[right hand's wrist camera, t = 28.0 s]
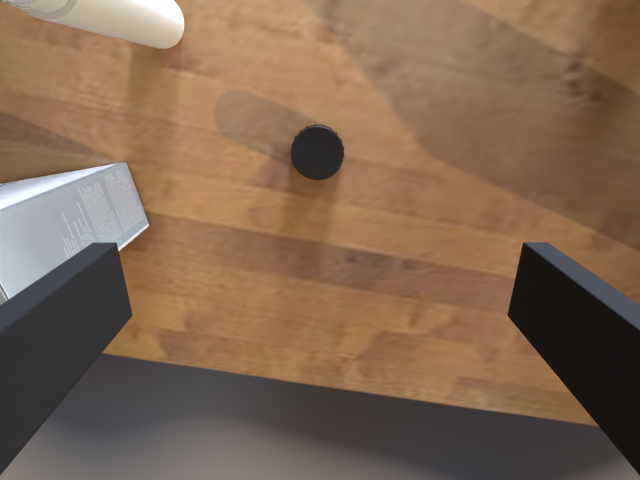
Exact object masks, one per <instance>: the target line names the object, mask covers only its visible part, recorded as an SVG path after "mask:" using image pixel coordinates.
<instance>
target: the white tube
mask: <svg viewBox="0 0 640 480" xmlns="http://www.w3.org/2000/svg"><path fill="white" fill-rule="evenodd" d="M0 1H2V2H4V3H6V4H8V5H10V6H13V7H17V8H20V9H21V10H23V11H24V12H26V13H27V14H29V15H31V16H33V17H35V18H39V19H42V20H46V21H50V22H54V23H58V24H62V25H66V26H70V27H74V28H78V29H82V30H86V31H90V32H94V33H98V34H102V35H106V36H110V37H114V38H118V39H122V40H126V41H130V42H134V43H138V44H142V45H146V46H150V47H154V48H159V49H168V48H171V47H173V46H175V45H176V44H177V43H178V42H179V41H180V39H181V37H182V35H183V32H184V19H183V15H182V12H181V10H180V8H179V7H178V5H177V4H176V3H175V2H174V1H173V0H0Z"/></svg>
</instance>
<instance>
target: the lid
mask: <svg viewBox="0 0 640 480" xmlns="http://www.w3.org/2000/svg"><path fill="white" fill-rule="evenodd" d="M291 157H292V162H293V164H294V166H295V168H296V169H297V170H298V172H299V173H300V174H302V175H303V176H305V177H307V178H309V179H313V180H323V179H326V178H329V177H331V176H332V175H334V174H335V173H336V172H337V171H338V170H339V168H340V167H341V165H342V162H343V158H344V147H343V145H342V140H341V139H340V138H339V136H338V135H337V132H335V131H333V130H332V129H331V127H330V128H329V127H327V126H324V125H323V124H322V125H316V124H315V125H312V126H309V127H308V126H307V127H306V128H305V129H303V130H301V131H300V133H299V134H298V135H297V136H296V137H295V140H294V143H293V144H292V150H291Z"/></svg>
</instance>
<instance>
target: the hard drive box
mask: <svg viewBox="0 0 640 480" xmlns="http://www.w3.org/2000/svg"><path fill="white" fill-rule="evenodd" d="M148 226H149V224H148V221H147V218H146V215H145V212H144V209H143V207H142V204H141V201H140V198H139V196H138V193H137V190H136V187H135V184H134V182H133V179H132V176H131V174H130V171H129V169H128V166H127V164H126V163H125V162H122V163H116V164H111V165H106V166H100V167H94V168H88V169H83V170H78V171H71V172H65V173H59V174H54V175H48V176H43V177H37V178H31V179H25V180H19V181H14V182H9V183H3V184H0V305H1V304H3V303H4V302H6V301H7V300H9V299H10V298H12V297H13V296H15V295H16V294H18V293H19V292H21V291H22V290H24V289H25V288H26V287H28V286H29V285H31V284H32V283H34V282H35V281H37V280H38V279H40V278H41V277H43V276H44V275H46V274H47V273H49V272H50V271H52V270H53V269H55V268H56V267H58V266H59V265H60V264H62V263H63V262H65V261H66V260H68V259H69V258H71V257H72V256H74V255H75V254H77V253H78V252H80V251H81V250H83V249H84V248H86V247H87V246H89V245H90V244H91V243H117V246H118V251H120V250H121V249H122V248H124V247H125V246H126V245H127V244H128V243H129V242H130V241H132V240H133V239H134V238H135V237H137V236H138V235H139V234H140V233H141V232H142V231H144V230H145V229H146V228H147V227H148Z"/></svg>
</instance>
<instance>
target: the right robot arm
mask: <svg viewBox="0 0 640 480" xmlns="http://www.w3.org/2000/svg"><path fill="white" fill-rule="evenodd" d="M131 317H132V311H131V306H130V302H129V297H128V293H127V288H126V283H125V279H124V274H123V269H122V265H121V260H120V256H119V251H118V246H117V243H91V244H90V245H89V246H87V247H86V248H84V249H83V250H81V251H80V252H78V253H77V254H75V255H74V256H72V257H71V258H69V259H68V260H66V261H65V262H63V263H62V264H60V265H59V266H58V267H56V268H55V269H53V270H52V271H50V272H49V273H47V274H46V275H44V276H43V277H41V278H40V279H38V280H37V281H35V282H34V283H32V284H31V285H29V286H28V287H26V288H25V289H24V290H22V291H21V292H19V293H18V294H16V295H15V296H13V297H12V298H10V299H9V300H7V301H6V302H4V303H3V304H1V305H0V475H1V474H2V473H3V471H4V470H5V469H6V468H7V466H8V465H9V464H10V463H11V462H12V460H13V459H14V458H15V457H16V456H17V454H18V453H19V452H20V451H21V450H22V448H23V447H24V446H25V445H26V443H27V442H28V441H29V440H30V439H31V437H32V436H33V435H34V434H35V433H36V431H37V430H38V429H39V428H40V427H41V425H42V424H43V423H44V422H45V421H46V419H47V418H48V417H49V416H50V415H51V413H52V412H53V411H54V410H55V408H56V407H57V406H58V405H59V404H60V402H61V401H62V400H63V399H64V398H65V396H66V395H67V394H68V393H69V392H70V390H71V389H72V388H73V387H74V386H75V384H76V383H77V382H78V381H79V379H80V378H81V377H82V376H83V374H84V373H85V372H86V371H87V370H88V369H89V367H90V366H91V365H92V364H93V363H94V361H95V360H96V359H97V358H98V356H99V355H100V354H101V353H102V352H103V350H104V349H105V348H106V347H107V346H108V344H109V343H110V342H111V341H112V340H113V338H114V337H115V336H116V335H117V334H118V332H119V331H120V330H121V329H122V327H123V326H124V325H125V324H126V323H127V321H128V320H129V319H130V318H131ZM508 317H509V318H510V319H511V320H512V321H513V323H514V324H515V325H516V326H517V327H518V329H519V330H520V331H521V332H522V334H523V335H524V336H525V337H526V338H527V340H528V341H529V342H530V343H531V344H532V346H533V347H534V348H535V349H536V350H537V352H538V353H539V354H540V355H541V356H542V358H543V359H544V360H545V361H546V363H547V364H548V365H549V366H550V367H551V369H552V370H553V371H554V372H555V373H556V375H557V376H558V377H559V378H560V379H561V381H562V382H563V383H564V384H565V386H566V387H567V388H568V389H569V390H570V392H571V393H572V394H573V395H574V396H575V398H576V399H577V400H578V401H579V402H580V404H581V405H582V406H583V407H584V408H585V410H586V411H587V412H588V413H589V415H590V416H591V417H592V418H593V419H594V421H595V422H596V423H597V424H598V425H599V427H600V428H601V429H602V430H603V431H604V433H605V434H606V435H607V436H608V437H609V439H610V440H611V441H612V442H613V443H614V445H615V446H616V447H617V448H618V450H619V451H620V452H621V453H622V454H623V456H624V457H625V458H626V459H627V460H628V462H629V463H630V464H631V465H632V466H633V468H634V469H635V470H636V471H637V472H638V474H639V475H640V305H639V304H637V303H636V302H634V301H633V300H631V299H630V298H628V297H627V296H625V295H624V294H622V293H621V292H619V291H618V290H616V289H615V288H614V287H612V286H611V285H609V284H608V283H606V282H605V281H603V280H602V279H600V278H599V277H597V276H596V275H594V274H593V273H591V272H590V271H588V270H587V269H585V268H584V267H582V266H581V265H580V264H578V263H577V262H575V261H574V260H572V259H571V258H569V257H568V256H566V255H565V254H563V253H562V252H560V251H559V250H557V249H556V248H554V247H553V246H551V245H550V244H549V243H523V246H522V251H521V256H520V260H519V265H518V269H517V274H516V279H515V283H514V288H513V293H512V297H511V302H510V306H509V311H508Z"/></svg>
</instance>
